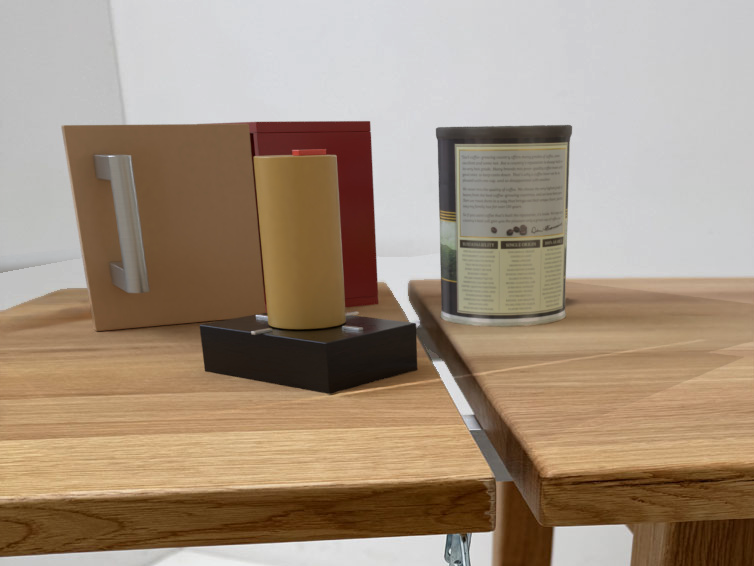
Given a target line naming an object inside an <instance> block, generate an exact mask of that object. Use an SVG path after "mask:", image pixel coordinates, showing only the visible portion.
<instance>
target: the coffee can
mask: <svg viewBox="0 0 754 566" xmlns="http://www.w3.org/2000/svg"><path fill="white" fill-rule="evenodd" d="M572 136H573V125H571V124H547V125H545V124H538V125H534V124H533V125H490V126H489V125H486V126H438V127H436V128H435V139H436V140H437V169H438V170H437V171H438V172H437V173H438V208H439V209H438V211H439V253H440V254H439V255H440V298H441V299H440V301H441V307H440V308H441V309H440V319H442V320H443V321H445V322H448V323H453V324H457V325H464V326H473V327H490V328H491V327H492V328H493V327H495V328H497V327H499V328H510V327H528V326H529V327H531V326H539V325H547V324H552V323H555V322H559V321H562V320H564V319H565V318H566V316H567V314H566V286H567V285H566V284H567V283H566V282H567V253H568V251H567V250H568V249H567V248H568V224H569V186H570V185H569V183H570V152H571V137H572Z"/></svg>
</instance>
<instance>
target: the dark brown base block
mask: <svg viewBox="0 0 754 566" xmlns="http://www.w3.org/2000/svg"><path fill="white" fill-rule="evenodd" d="M199 332H200V333H199V334H200V342H201V348H202V350H201V351H202V358H203V359H202V360H203V366H204V367H203V368H204V372H206V373H211V374H217V375H223V376H227V377H233V378H239V379H244V380H249V381H256V382H261V383H266V384H272V385H276V386H277V385H278V386H283V387H289V388H294V389H300V390H305V391H311V392H316V393H321V394H326V395H328V396H333V395H336V394H338V393H339V392H342V391H346V390H349V389H353V388H357V387H361V386H365V385H368V384H372V383H375V382H379V381H382V380H386V379H389V378H393V377H397V376H400V375H401V376H402V375H404V374H408V373H412V372H416V371H418V343H417V342H418V341H417V340H418V339H417V338H418V337H417V323H416V322H410V321H403V320H393V319H386V318H377V317H369V316H361V315H359V311H355V310H354V311H349V312H346V322H345V323H344V324H342V325H339V326H335V327H329V328H321V329H281V328H275V327H272V326H270V325H269V324H268V315H267V313H262V314H256V315H251V316H245V317H240V318H234V319H228V320H217V321H211V322H207V323H206V322H205V323H201V324H199Z"/></svg>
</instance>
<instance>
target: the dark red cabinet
mask: <svg viewBox="0 0 754 566" xmlns="http://www.w3.org/2000/svg"><path fill="white" fill-rule="evenodd" d="M208 124H249V131H250V143H251V154H252V165H253V176H254V187H255V198H256V209H257V221H258V232H259V243H260V254H261V265H262V276H263V287H264V299H265V310H266V313H267V304H266V293H265V281H264V270H263V259H262V248H261V236H260V225H259V214H258V203H257V192H256V180H255V169H254V158H253V157H254V156H271V155H292V150H312V149H326V155H336V156H337V172H338V189H339V207H340V224H341V242H342V259H343V277H344V294H345V309H346V308H354V307H363V306H364V307H365V306H374V305H379V285H378V283H379V281H378V262H377V260H378V259H377V240H376V217H375V216H376V214H375V194H374V190H375V189H374V171H373V169H374V168H373V152H372V151H373V149H372V147H373V146H372V132H371V131H372V129H371V128H372V127H371V121H370V120H322V121H321V120H319V121H318V120H317V121H316V120H313V121H312V120H309V121H308V120H307V121H305V120H304V121H301V120H298V121H297V120H296V121H291V120H290V121H288V120H287V121H236V122H213V123H208Z"/></svg>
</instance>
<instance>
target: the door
mask: <svg viewBox="0 0 754 566" xmlns="http://www.w3.org/2000/svg"><path fill="white" fill-rule="evenodd" d="M60 127H61V134H62V140H63V146H64V152H65V153H64V154H65V159H66V160H65V161H66V166H67V172H68V177H69V184H70V191H71V197H72V203H73V209H74V216H75V223H76V228H77V233H78V241H79V245H80V247H79V248H80V252H81V253H80V254H81V258H82V259H81V260H82V263H83V264H82V265H83V271H84V278H85V284H86V289H87V296H88V301H89V302H88V303H89V307H90V315H91V320H92V321H91V322H92V326H93V327H92V328H93V330H94V331H96V332H104V331H117V330H128V329H137V328H148V327H160V326H161V327H162V326H171V325H183V324H195V323H203V322H204V323H206V322H217V321H223V320H229V319H234V318H240V317H245V316H251V315H256V314H262V313H266V310H265V299H264V287H263V276H262V265H261V254H260V243H259V232H258V221H257V209H256V198H255V187H254V176H253V165H252V154H251V143H250V131H249V124H209V123H195V124H194V123H192V124H191V123H177V124H175V123H174V124H171V123H170V124H169V123H167V124H166V123H165V124H164V123H162V124H63V125H61V126H60Z"/></svg>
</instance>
